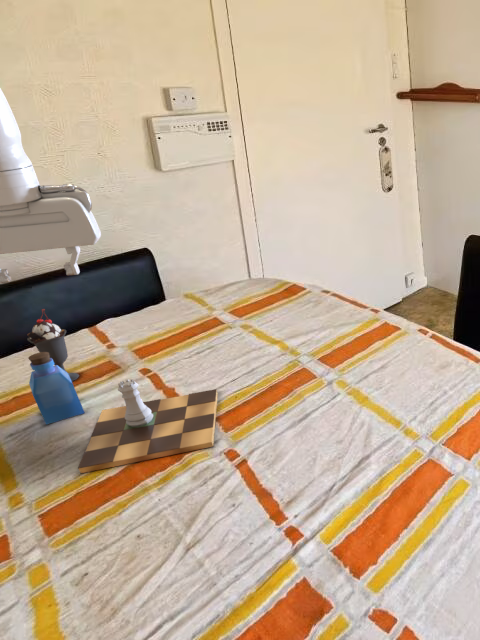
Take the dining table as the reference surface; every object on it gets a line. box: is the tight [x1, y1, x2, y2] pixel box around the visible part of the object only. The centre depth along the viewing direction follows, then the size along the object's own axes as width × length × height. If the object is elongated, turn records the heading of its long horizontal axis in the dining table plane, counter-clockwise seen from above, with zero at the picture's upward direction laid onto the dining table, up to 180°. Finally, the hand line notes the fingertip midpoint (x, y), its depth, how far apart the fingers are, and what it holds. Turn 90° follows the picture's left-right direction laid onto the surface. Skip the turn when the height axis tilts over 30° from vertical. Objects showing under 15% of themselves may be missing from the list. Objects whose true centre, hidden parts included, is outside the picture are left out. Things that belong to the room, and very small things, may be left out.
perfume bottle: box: [27, 352, 85, 426], centre depth 116 cm, size 6×6×12 cm
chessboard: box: [77, 388, 219, 474], centre depth 112 cm, size 20×20×1 cm
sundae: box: [26, 308, 80, 382], centre depth 127 cm, size 7×7×15 cm
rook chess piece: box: [117, 378, 153, 427], centre depth 111 cm, size 4×4×8 cm
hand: (39, 278), depth 99 cm, fingers open, 8 cm apart
